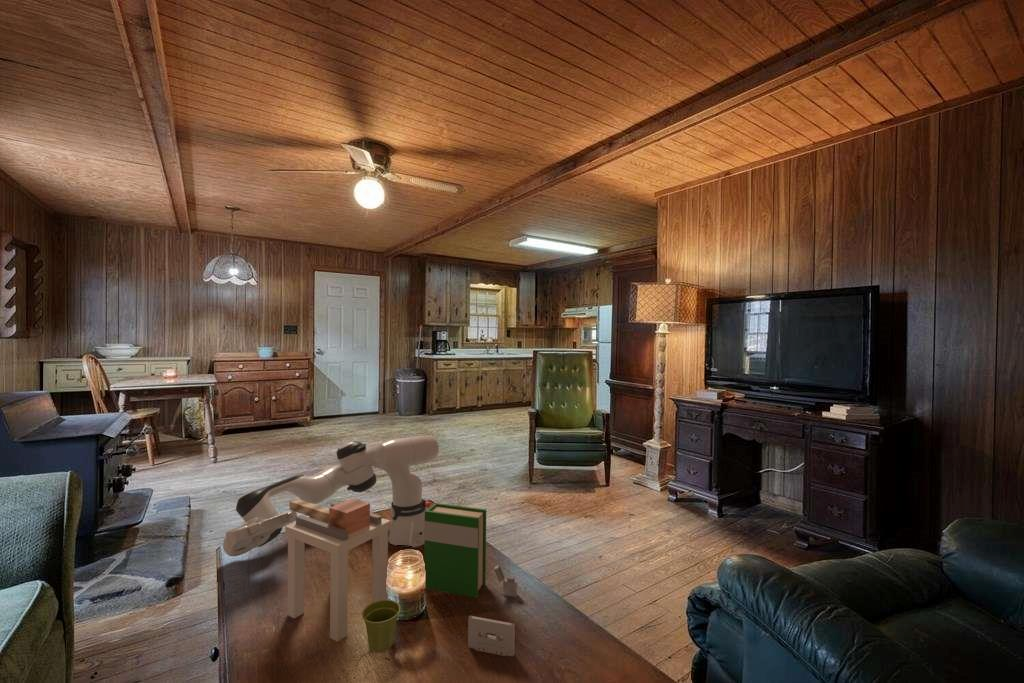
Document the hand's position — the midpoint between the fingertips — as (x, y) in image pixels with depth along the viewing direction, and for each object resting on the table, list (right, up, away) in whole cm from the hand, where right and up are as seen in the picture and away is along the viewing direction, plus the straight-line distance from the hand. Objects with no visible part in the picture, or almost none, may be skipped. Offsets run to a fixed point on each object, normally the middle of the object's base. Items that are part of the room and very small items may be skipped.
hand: (276, 519), depth 140 cm
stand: (+25, -20, -15) cm, 35 cm away
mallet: (+20, +5, -12) cm, 23 cm away
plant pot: (+41, -21, -28) cm, 54 cm away
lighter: (+73, -21, -5) cm, 76 cm away
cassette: (+69, -21, -30) cm, 78 cm away
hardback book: (+57, -21, -2) cm, 60 cm away
